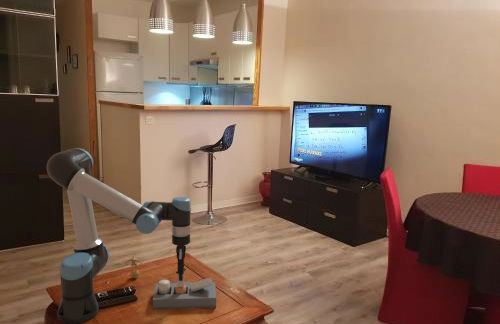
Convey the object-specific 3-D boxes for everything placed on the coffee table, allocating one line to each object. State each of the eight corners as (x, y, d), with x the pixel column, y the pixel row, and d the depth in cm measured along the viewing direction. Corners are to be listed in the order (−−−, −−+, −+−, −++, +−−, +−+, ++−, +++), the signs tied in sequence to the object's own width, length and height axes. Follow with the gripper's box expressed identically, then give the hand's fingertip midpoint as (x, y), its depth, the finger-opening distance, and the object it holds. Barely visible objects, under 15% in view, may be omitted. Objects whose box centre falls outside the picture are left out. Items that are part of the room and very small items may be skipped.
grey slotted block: (152, 309, 164) (152, 296, 163) (156, 292, 177) (156, 280, 176) (216, 307, 167) (216, 295, 166) (214, 291, 181) (215, 279, 180)
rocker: (192, 293, 169) (190, 289, 168) (192, 286, 175) (191, 283, 174) (212, 286, 169) (211, 283, 169) (211, 280, 175) (210, 276, 175)
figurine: (144, 276, 192) (144, 252, 190) (141, 282, 187) (141, 257, 184) (127, 275, 192) (126, 252, 190) (124, 281, 186) (123, 257, 184)
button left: (158, 294, 168) (158, 285, 167) (159, 289, 172) (159, 279, 171) (169, 294, 168) (169, 284, 167) (170, 289, 173) (170, 279, 172)
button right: (174, 299, 169) (175, 289, 168) (175, 293, 173) (175, 284, 173) (185, 299, 170) (186, 289, 169) (186, 293, 174) (186, 284, 173)
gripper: (189, 239, 161) (189, 293, 165) (190, 228, 173) (189, 278, 177) (171, 239, 160) (170, 294, 164) (173, 228, 172) (172, 279, 177)
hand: (180, 286), depth 171 cm, fingers closed
